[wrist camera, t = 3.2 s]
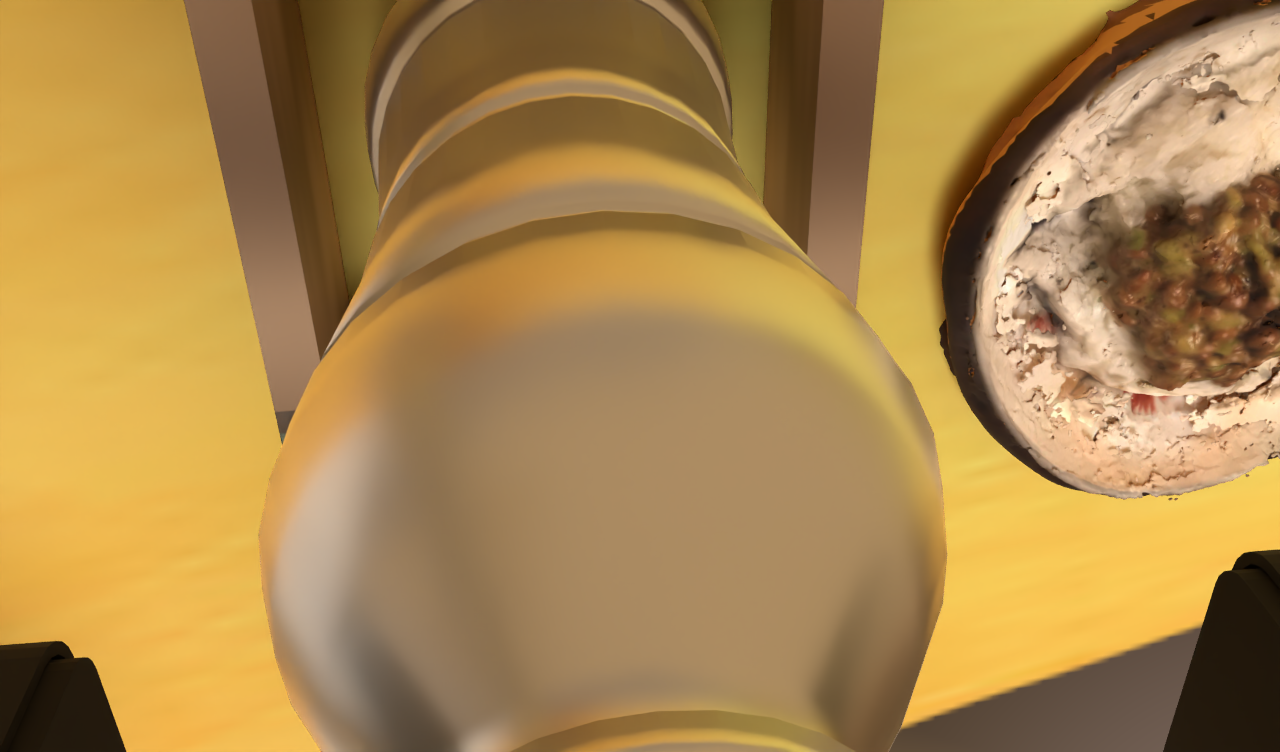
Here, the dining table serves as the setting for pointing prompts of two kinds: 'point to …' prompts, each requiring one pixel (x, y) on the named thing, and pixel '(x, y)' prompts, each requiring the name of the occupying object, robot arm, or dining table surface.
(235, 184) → the dock
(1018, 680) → the dining table surface
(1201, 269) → the sushi roll
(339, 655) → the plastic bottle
